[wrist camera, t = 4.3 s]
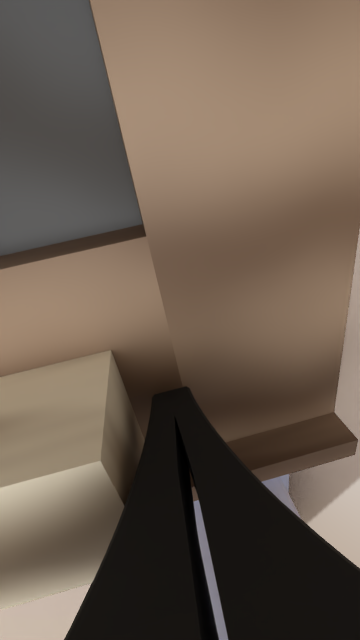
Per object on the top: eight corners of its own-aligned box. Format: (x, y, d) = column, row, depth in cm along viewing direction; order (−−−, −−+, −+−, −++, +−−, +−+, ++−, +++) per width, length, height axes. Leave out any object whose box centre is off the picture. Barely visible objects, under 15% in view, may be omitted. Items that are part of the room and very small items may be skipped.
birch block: (146, 445, 11) (155, 563, 8) (26, 477, 11) (-20, 616, 8) (110, 350, 9) (100, 460, 5) (-44, 388, 9) (-160, 530, 5)
